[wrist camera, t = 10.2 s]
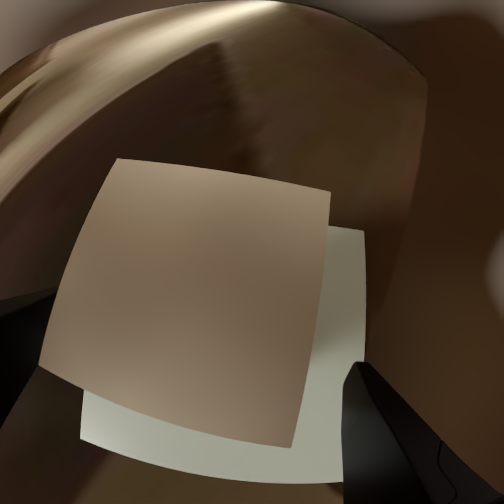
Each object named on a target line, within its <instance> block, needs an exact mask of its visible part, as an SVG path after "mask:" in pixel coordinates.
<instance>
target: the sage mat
mask: <svg viewBox="0 0 504 504" xmlns="http://www.w3.org/2000/svg"><path fill="white" fill-rule="evenodd" d="M365 328H366V264H365V241H364V231H361V230H355V229H348V228H341V227H334V226H328V232H327V242H326V252H325V261H324V269H323V278H322V286H321V293H320V300H319V307H318V314H317V321H316V327H315V334H314V340H313V346H312V351H311V357H310V363H309V368H308V373H307V378H306V384H305V389H304V393H303V398H302V403H301V408H300V412H299V417H298V421H297V426H296V430H295V434H294V438H293V442H292V446H291V448H283V447H276V446H268V445H262V444H256V443H250V442H244V441H239V440H234V439H229V438H224V437H220V436H215V435H211V434H207V433H203V432H199V431H195V430H192V429H188V428H185V427H181V426H178V425H174V424H171V423H168V422H165V421H162V420H159V419H156V418H153V417H150V416H147V415H144V414H141V413H139V412H136V411H133V410H131V409H128V408H126V407H123V406H120V405H118V404H116V403H113V402H111V401H109V400H106V399H104V398H102V397H99V396H97V395H95V394H93V393H91V392H89V391H86V390H84V397H83V407H82V419H81V436H80V439H83V440H85V441H87V442H90V443H92V444H95V445H97V446H100V447H102V448H105V449H108V450H110V451H113V452H116V453H119V454H122V455H125V456H128V457H131V458H134V459H137V460H141V461H144V462H147V463H151V464H155V465H158V466H162V467H166V468H170V469H175V470H179V471H184V472H188V473H194V474H199V475H205V476H211V477H217V478H224V479H232V480H241V481H251V482H266V483H328V482H342V481H343V464H342V445H341V418H342V391H343V383H344V380H345V378H346V376H347V375H348V373H349V371H350V369H351V367H352V365H353V363H354V362H356V361H362V362H364V351H365Z"/></svg>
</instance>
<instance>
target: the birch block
mask: <svg viewBox="0 0 504 504" xmlns="http://www.w3.org/2000/svg"><path fill="white" fill-rule="evenodd" d="M330 196H331V192H328V191H323V190H319V189H315V188H310V187H305V186H301V185H296V184H291V183H286V182H281V181H276V180H271V179H265V178H260V177H254V176H249V175H243V174H237V173H231V172H224V171H218V170H211V169H204V168H197V167H190V166H182V165H174V164H166V163H157V162H148V161H138V160H127V159H117V160H116V162H115V163H114V165H113V167H112V169H111V171H110V172H109V174H108V176H107V178H106V180H105V182H104V184H103V186H102V187H101V189H100V191H99V193H98V195H97V197H96V199H95V201H94V203H93V205H92V208H91V210H90V212H89V214H88V216H87V218H86V220H85V223H84V225H83V227H82V229H81V232H80V234H79V236H78V239H77V241H76V244H75V246H74V248H73V251H72V253H71V256H70V259H69V261H68V264H67V267H66V269H65V272H64V275H63V278H62V280H61V283H60V286H59V289H58V292H57V295H56V299H55V302H54V305H53V308H52V312H51V315H50V319H49V322H48V326H47V330H46V334H45V338H44V342H43V346H42V350H41V355H40V359H39V364H38V365H40V366H41V367H43V368H45V369H46V370H48V371H50V372H52V373H53V374H55V375H57V376H59V377H61V378H63V379H65V380H66V381H68V382H70V383H72V384H74V385H76V386H78V387H80V388H82V389H84V390H86V391H89V392H91V393H93V394H95V395H97V396H99V397H102V398H104V399H106V400H109V401H111V402H113V403H116V404H118V405H120V406H123V407H126V408H128V409H131V410H133V411H136V412H139V413H141V414H144V415H147V416H150V417H153V418H156V419H159V420H162V421H165V422H168V423H171V424H174V425H178V426H181V427H185V428H188V429H192V430H195V431H199V432H203V433H207V434H211V435H215V436H220V437H224V438H229V439H234V440H239V441H244V442H250V443H256V444H262V445H268V446H276V447H283V448H291V446H292V442H293V438H294V434H295V430H296V426H297V421H298V417H299V412H300V408H301V403H302V398H303V393H304V389H305V384H306V378H307V373H308V368H309V363H310V357H311V351H312V346H313V340H314V334H315V327H316V321H317V314H318V307H319V300H320V293H321V286H322V278H323V269H324V261H325V252H326V242H327V232H328V221H329V209H330Z"/></svg>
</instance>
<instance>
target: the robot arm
mask: <svg viewBox="0 0 504 504" xmlns="http://www.w3.org/2000/svg"><path fill="white" fill-rule="evenodd" d="M58 289H59V288H57V287H52V288H48V289H44V290H39V291H35V292H31V293H27V294H23V295H19V296H15V297H11V298H7V299H3V300H0V429H1V427H2V425H3V423H4V421H5V420H6V418H7V416H8V414H9V413H10V411H11V409H12V407H13V406H14V404H15V402H16V401H17V399H18V397H19V396H20V394H21V393H22V391H23V389H24V388H25V386H26V385H27V383H28V382H29V380H30V378H31V377H32V375H33V374H34V372H35V371H36V369H37V368H38V366H39V365H38V364H39V359H40V355H41V350H42V346H43V342H44V338H45V334H46V330H47V326H48V322H49V319H50V315H51V312H52V308H53V305H54V302H55V299H56V295H57V292H58ZM341 445H342V464H343V501H344V504H504V495H503V494H501V493H499V492H498V491H496V490H495V489H494V488H493V487H491V486H490V485H489V484H488V483H487V482H486V481H485V480H484V479H482V478H481V477H480V476H479V475H478V474H476V473H475V472H474V471H473V470H472V469H471V468H470V467H469V466H468V465H467V464H465V463H464V462H463V461H462V460H461V459H460V458H459V457H458V456H457V455H456V454H455V453H454V452H453V451H452V450H451V449H450V448H449V447H448V446H447V445H446V443H445V442H444V441H443V440H441V439H440V437H439V436H438V435H437V434H436V433H435V432H434V431H433V430H432V429H431V428H430V427H429V425H427V423H426V422H425V421H424V420H423V419H422V418H421V417H420V416H419V415H418V414H417V413H416V412H415V411H414V410H413V409H412V408H411V406H409V404H408V403H407V402H406V401H405V400H404V399H403V398H402V397H401V396H400V395H399V394H398V393H397V392H396V391H395V390H394V388H392V386H391V385H390V384H389V383H388V382H387V381H386V380H385V379H384V378H383V377H382V376H381V375H380V374H379V373H378V372H377V371H376V369H374V368H373V366H372V365H371V364H370V363H368V362H362V361H356V362H354V363H353V365H352V367H351V369H350V371H349V373H348V375H347V376H346V378H345V380H344V383H343V391H342V418H341Z"/></svg>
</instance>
